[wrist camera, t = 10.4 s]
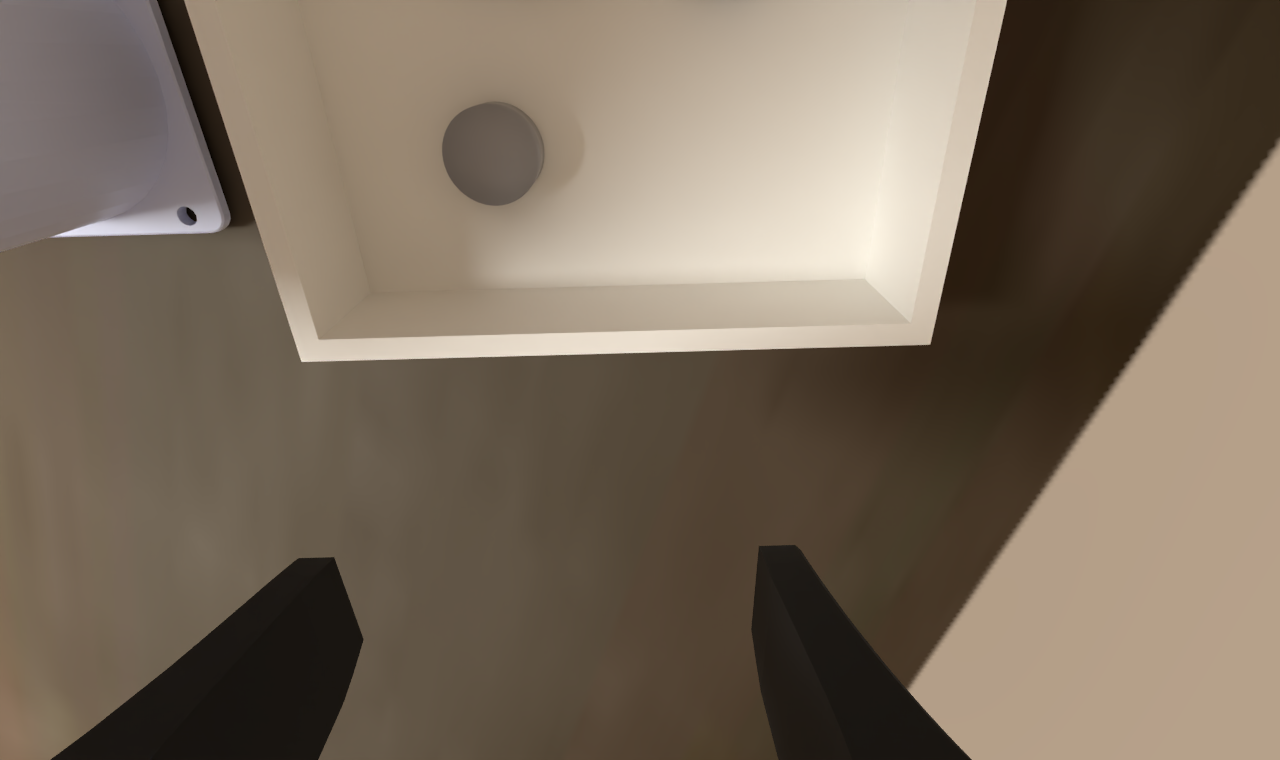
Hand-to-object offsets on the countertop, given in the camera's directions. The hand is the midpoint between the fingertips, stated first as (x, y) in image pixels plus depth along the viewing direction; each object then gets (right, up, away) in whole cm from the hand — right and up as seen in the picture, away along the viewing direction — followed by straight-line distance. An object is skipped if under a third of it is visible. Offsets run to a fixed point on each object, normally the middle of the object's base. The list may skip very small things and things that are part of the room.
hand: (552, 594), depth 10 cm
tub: (+1, +12, +5) cm, 13 cm away
